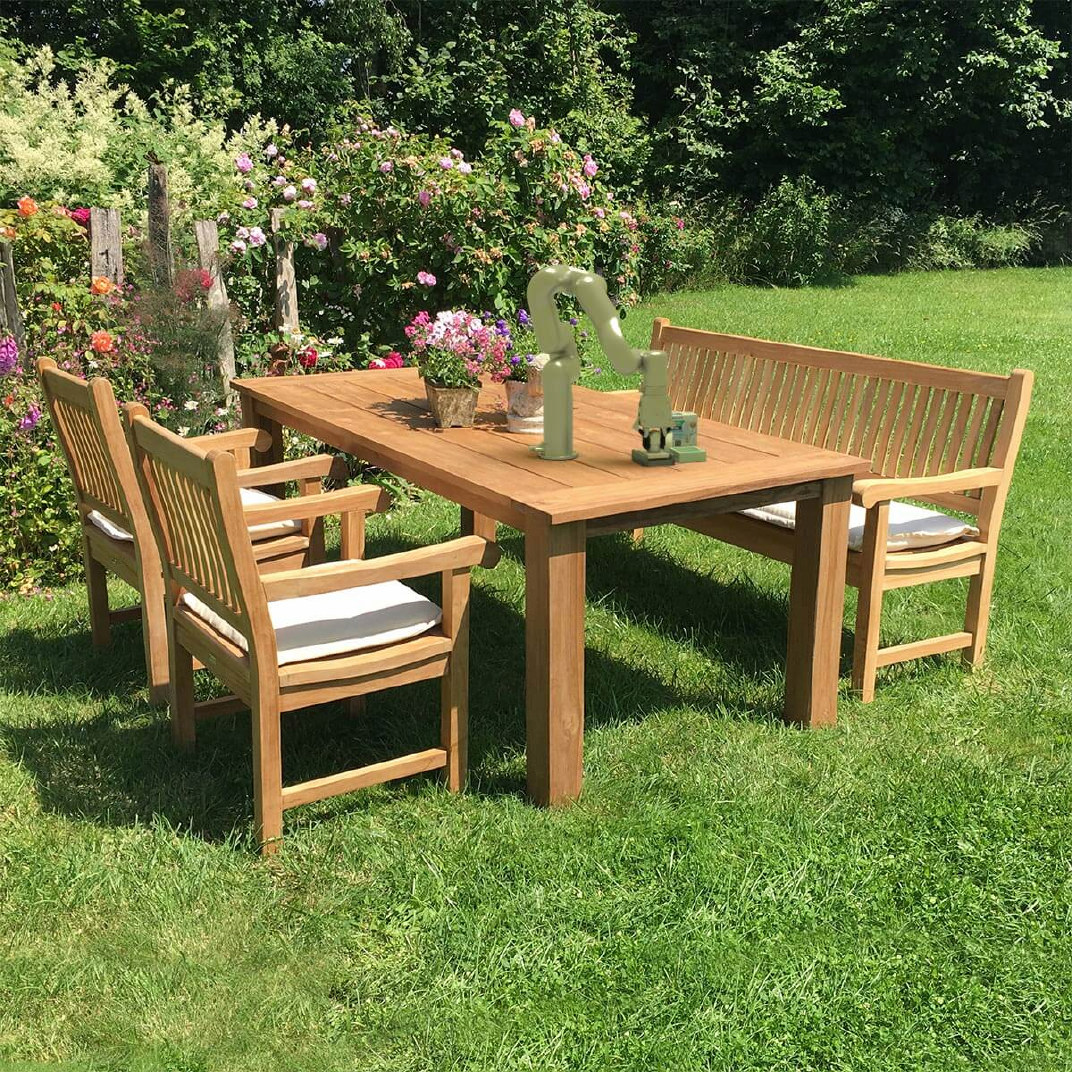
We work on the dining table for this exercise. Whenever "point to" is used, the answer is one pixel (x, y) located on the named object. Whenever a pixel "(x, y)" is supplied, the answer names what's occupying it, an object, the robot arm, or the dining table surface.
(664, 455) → the checker pad
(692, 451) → the tray
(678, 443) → the light bulb box
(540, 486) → the dining table surface
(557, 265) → the robot arm
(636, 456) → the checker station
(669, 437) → the ceramic cup
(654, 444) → the cell
